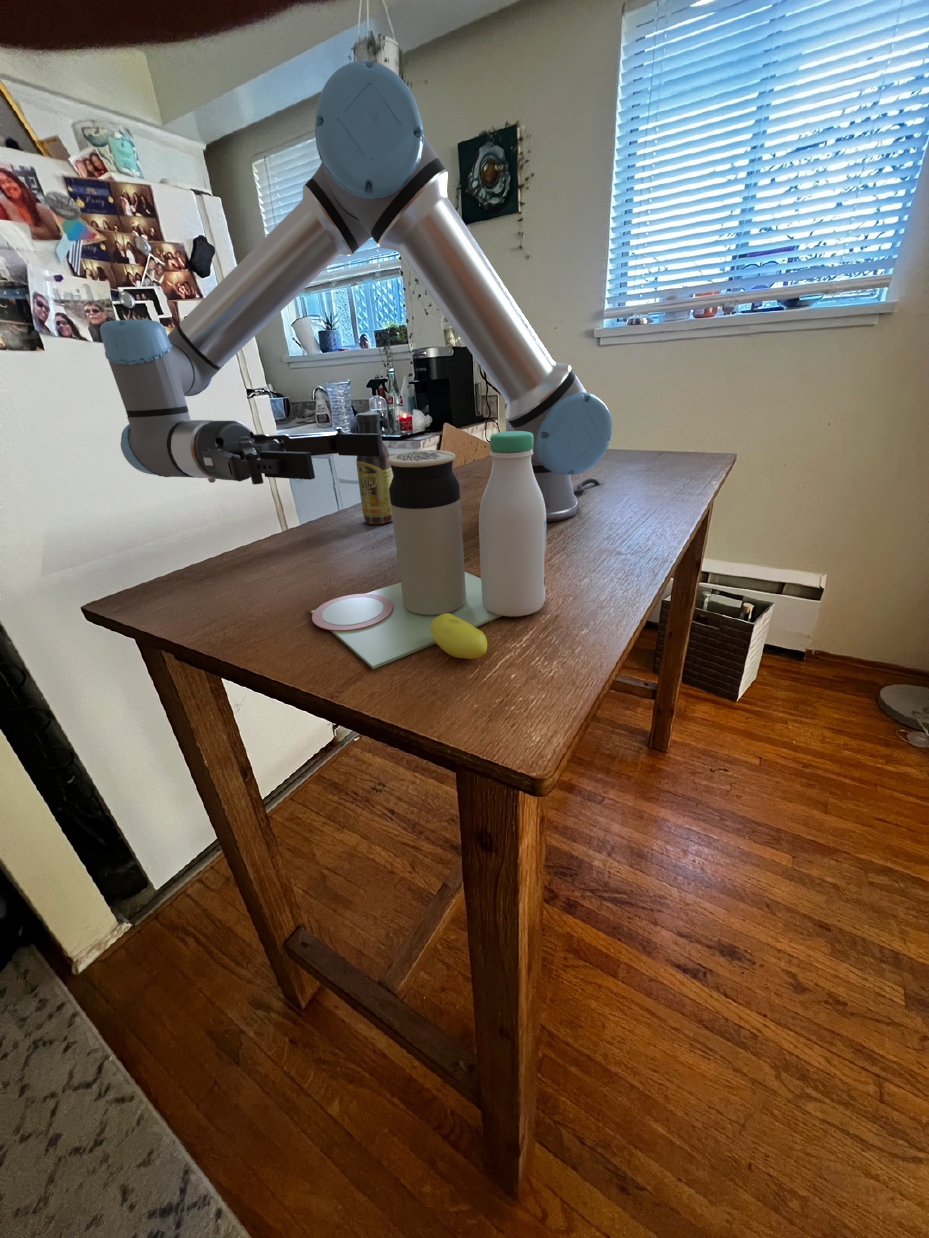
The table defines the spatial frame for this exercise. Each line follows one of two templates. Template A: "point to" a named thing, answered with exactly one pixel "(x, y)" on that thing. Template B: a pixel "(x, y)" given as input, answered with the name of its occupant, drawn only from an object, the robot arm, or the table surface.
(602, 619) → the table surface
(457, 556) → the travel mug
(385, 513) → the sauce bottle
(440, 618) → the lemon
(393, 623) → the placemat
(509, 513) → the milk bottle
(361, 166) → the robot arm
